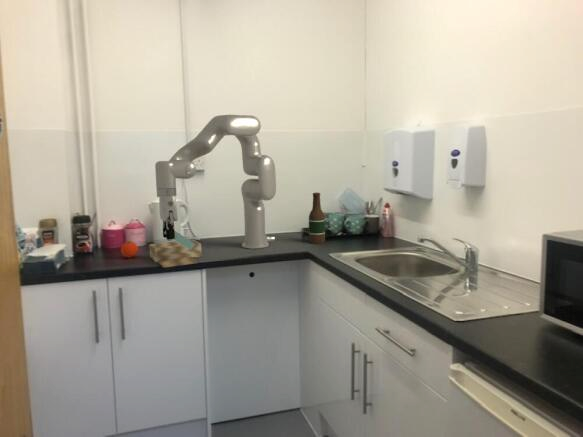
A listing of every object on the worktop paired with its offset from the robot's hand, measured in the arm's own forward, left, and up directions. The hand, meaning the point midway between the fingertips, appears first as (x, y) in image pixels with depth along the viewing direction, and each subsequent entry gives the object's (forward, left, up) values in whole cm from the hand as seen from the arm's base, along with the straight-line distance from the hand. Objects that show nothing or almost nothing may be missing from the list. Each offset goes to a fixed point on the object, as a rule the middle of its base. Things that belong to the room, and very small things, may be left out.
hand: (168, 237), depth 186 cm
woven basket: (-5, -12, -11) cm, 17 cm away
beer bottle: (-72, -5, -11) cm, 73 cm away
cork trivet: (-3, 0, -11) cm, 11 cm away
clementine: (+12, -22, -11) cm, 27 cm away
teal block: (-3, 0, -2) cm, 4 cm away
